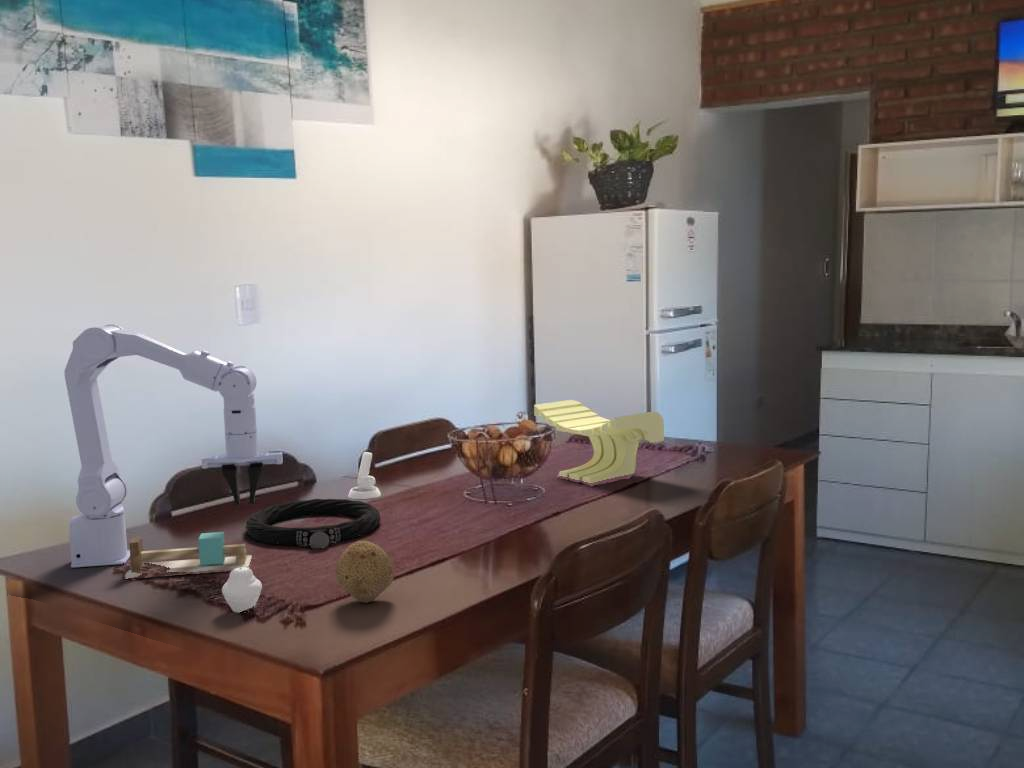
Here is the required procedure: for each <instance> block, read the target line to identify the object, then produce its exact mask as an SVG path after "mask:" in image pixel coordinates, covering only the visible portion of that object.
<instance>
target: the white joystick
mask: <svg viewBox="0 0 1024 768" xmlns="http://www.w3.org/2000/svg"><path fill="white" fill-rule="evenodd" d="M372 459H373V453H372V452H368V451H364V452H363V453H362V456H361V461H360V467H359V470H358V474H357V475H358V476H357V480H356V483H357V486H355V487H352V488H351V489H350V490H349V493H348V495H347V497H348V498H350V499H352V500H369V499H370V500H371V499H374V498H378V497H380V496H381V495H382V494H381V491H380V489H379V488H378V487H377V486H375V485H376V478H375V477H374V476H373V475H369V474H370V469H371V463H372Z"/></svg>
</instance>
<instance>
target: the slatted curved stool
mask: <svg viewBox="0 0 1024 768" xmlns="http://www.w3.org/2000/svg"><path fill="white" fill-rule="evenodd" d="M533 411H534V412H533V413H534V414H533V415H534V417H541V418H540V420H541V421H542V422H548V427H549V426H550V427H555V431H557V432H563V433H568V434H573V435H574V434H575V435H580V436H583V437H584V436H585V437H588V438H589V440H590V442H591V445H592V448H593V456H592V458H591V459H590V460H589V461H587V462H586V463H584V464H581V465H579V466H577V467H572V468H570V469H565V470H561V471H560V470H559V472H558V475H557V477H558V476H563V477H569V478H571V479H575V480H582V481H584V482H588V483H594V482H598V481H602V480H606V479H611V478H615V477H619V476H624V475H629V474H633V473H634V474H635V470H636V462H637V461H636V460H637V454H638V453H637V452H638V450H639V449H638V448H639V445H640V440H645V441H647V442H649V443H650V444H652V443H656V442H663V441H665V425H664V422H665V421H664V419H663V416H662V415H661V414H660V413H659V412H658V411H654V410H653V411H649V412H642V413H641V412H640V413H635V414H629V415H622V416H617V417H614V418H613V419H608V418H605V417H602V416H600V415H599V414H598V413H596V412H594V411H592V410H591V409H590V408H588V407H586V406H584V404H583V403H582V402H580V401H577V400H575V399H567V400H558V401H552V402H545V403H538V404H533Z"/></svg>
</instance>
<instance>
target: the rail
mask: <svg viewBox="0 0 1024 768" xmlns="http://www.w3.org/2000/svg"><path fill="white" fill-rule="evenodd" d="M143 541H144V540H143V536H133V537H132V538H131V540H130V541H129V543H128V544H129V550H130V557H129V558H130V560H129V561H130V568H131V570H128V571H126V573H125V575H124V578H125V579H128V578H134V577H138V576H140V575H142V573H141V574H140V573H137V572H139V571H140V570H141V569H142V567H143V566H144V563H145V562H147V561H153V562H149V563H150V564H151V563H152V564H156V565H161V566H165V567H167V568H168V567H169V568H170V570H167V572H168V571H169V572H197V571H198V572H199V571H208V570H228V569H229V570H232V569H236V568H239V567H247V568H249V569H250V567H249V565H250V566H251V564H250V562H251V563H252V561H251V559H253V557H252V556H253V555H251V554H247V549H246V543H241V544H239V543H238V544H225V545H223V555H225V556H226V558H225V560H224V563H222V564H209V565H200V556H199V546H198V547H197V546H196V547H195V546H194V547H184V548H181V547H180V548H170V549H169V548H168V549H167V548H166V549H154V550H144V542H143ZM228 555H229V556H228ZM231 555H235V556H231ZM187 558H188V559H187ZM189 558H196V559H189ZM173 559H180V560H173ZM181 559H182V560H181ZM160 560H166V561H160Z"/></svg>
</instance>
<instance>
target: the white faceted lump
mask: <svg viewBox="0 0 1024 768" xmlns="http://www.w3.org/2000/svg"><path fill="white" fill-rule="evenodd" d="M256 577H257V576H255V575H254V572H253V570H252V569H251V568H250V567H249V568H247V567H239V568H236V569H233V570H232V571H231V572H229V577H228V579H227V581H225V583H224V584H223V586H222V588H221V593H222V595H223V596H224V599H225V601H226V602H227V604H228V606H229V607H230V608H231V610H232V611H233V612H234V613H237V614H238V613H239V614H241V613H240V612H242V611H244V610H247V609H249V608H252V607H253V606H255V607H256V605H257V602H258V601H259V598H260V595H261V591H262V589H263V585H262V582H261V581H260V580H259V579H258V578H256Z"/></svg>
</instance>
